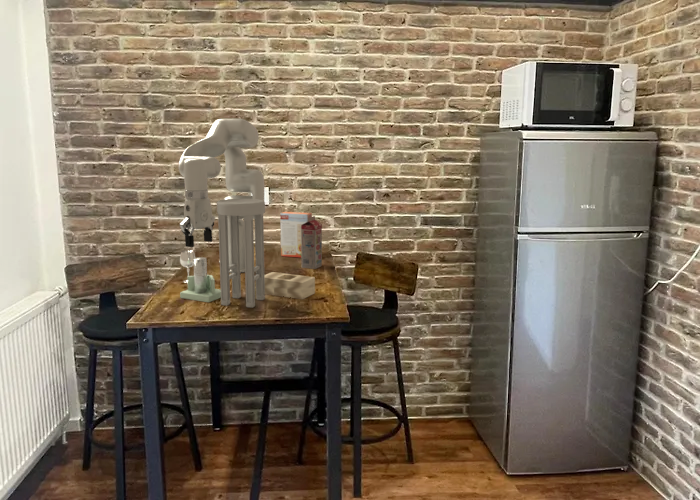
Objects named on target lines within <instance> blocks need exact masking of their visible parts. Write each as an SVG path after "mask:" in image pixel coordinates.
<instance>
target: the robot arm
mask: <svg viewBox="0 0 700 500" xmlns="http://www.w3.org/2000/svg"><path fill="white" fill-rule="evenodd" d="M258 131H259V130H258V128H256V126H255V125H254V124H252V123H251V122H250V121H248V120H247V119H244V118H219V119H216V120H215V121H214V122H213V123H212V125H211V127H210V129H209V131H208V132H207V134H206V135H205V137H204V138H202V139H200V140H198V141H196V142H194V143H193V144H192V143H191V145H189V146H188V147H187V148H185V150H184V151H183V153H182V155H181V156H180V159H179V161H178V172H179V174H180V175H181V176H182V177H183V179H184V193H185V194H184V197H185V200H184V209H183V220H182V221H181V222H180V223H179V228H180V230H181V232H182V233H183V236H184V241H185V244H184V245H185V247H187V248H194V247H195V241H194V240H195V239H194V238H195V237H194V235H193V234H194V232H195V230H201V229H203V242H208V243H212V242H213V230H214V226H215V220H216V216H214V215H213V209H212V204H211V200H210V197H209V190H208V188H209V187H208V179H215V178H216V177H218V176H219V175H220V173H221V168H222V166H221V162H220V161H219V159H218V158H217V157H219V156H221V155H224V160H225V164H224V165H225V168H224V169H225V171H224V173H225V176H224V177H225V188H226V189H227V191H229V192H232V193H251V195H234V194H233V195H227V196H226V197H224V198H223V199H222V200H224V199H243V198H245V199H259V200H263V201H264V202H265V177H264V174H263V172H262V171H261V170H259V169H251V168H248V169H247V156H246V154H245V152H244V151H243V150H242V149H241V148H254V147H256V146H257V145H258V143H259V139H260V138H259V137H260V136H259V132H258ZM264 214H265V213H263V215H264ZM227 217H228V249H229V266H230V265H231V234H230V216H229V215H227ZM253 220H255V215H253ZM239 241H240V274H241V273H245V244H244V216H239ZM218 264H220V260H219V261H218ZM229 274H232V270H230V271H229Z"/></svg>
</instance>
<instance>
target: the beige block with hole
mask: <svg viewBox="0 0 700 500" xmlns="http://www.w3.org/2000/svg"><path fill="white" fill-rule="evenodd" d="M264 277H265V295H269V296H270V295H271V296H277V297H283V296H284V297H285V298H290V297H291V299H297V300H304V299H306V298H308V297H310V296H313V295H314V294H315V293H316V278H315V276H308V275H307V276H306V275H299V274H293V273H292V274H290V273H284V272H276V271H275V272H274V271H272V272H269V273H267V274H264Z"/></svg>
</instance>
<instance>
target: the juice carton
mask: <svg viewBox="0 0 700 500" xmlns="http://www.w3.org/2000/svg"><path fill="white" fill-rule="evenodd" d="M322 229H323V224H322V223H321V222H319V220H316V216H315V215H312V217H309V218H308V222H306V223H304V224H302V225H301V269H302V268H303V269H313V270H316V269H319V268H320V267H322V266H323V265H322V264H323V263H322V262H323V253H322V252H323V251H322V250H323V230H322Z"/></svg>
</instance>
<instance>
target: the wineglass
mask: <svg viewBox="0 0 700 500" xmlns="http://www.w3.org/2000/svg"><path fill="white" fill-rule="evenodd" d="M194 258H196V254H195V251H194V250H190V249H186V250H181V251H180V257H179V263H180V265H181V266H182V267H184V268H186V272H187V276H190V270H191V269H190V268H192V267H194ZM182 283H185V284H188V279H187V278H186V279H185V280H183V281H182Z"/></svg>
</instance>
